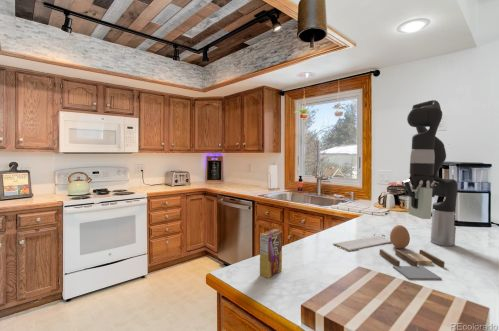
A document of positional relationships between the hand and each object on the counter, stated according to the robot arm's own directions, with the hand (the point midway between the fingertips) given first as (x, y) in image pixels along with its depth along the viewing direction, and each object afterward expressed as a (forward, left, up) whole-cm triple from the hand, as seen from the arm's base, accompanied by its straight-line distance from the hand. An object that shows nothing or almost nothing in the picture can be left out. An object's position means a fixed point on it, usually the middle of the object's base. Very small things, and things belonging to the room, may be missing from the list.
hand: (419, 208), depth 98 cm
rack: (-5, -12, -25) cm, 28 cm away
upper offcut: (-9, -12, -25) cm, 29 cm away
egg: (-10, -27, -25) cm, 38 cm away
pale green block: (0, 0, -3) cm, 3 cm away
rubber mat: (0, 0, -25) cm, 25 cm away
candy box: (+55, 0, -25) cm, 61 cm away
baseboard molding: (+5, -34, -26) cm, 43 cm away
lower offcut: (-9, -12, -26) cm, 30 cm away
